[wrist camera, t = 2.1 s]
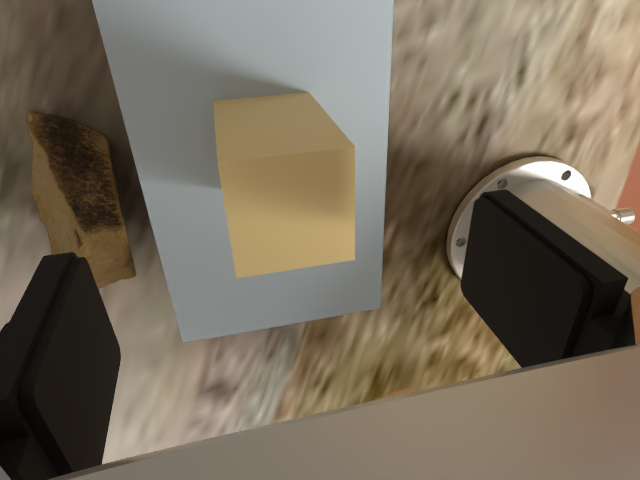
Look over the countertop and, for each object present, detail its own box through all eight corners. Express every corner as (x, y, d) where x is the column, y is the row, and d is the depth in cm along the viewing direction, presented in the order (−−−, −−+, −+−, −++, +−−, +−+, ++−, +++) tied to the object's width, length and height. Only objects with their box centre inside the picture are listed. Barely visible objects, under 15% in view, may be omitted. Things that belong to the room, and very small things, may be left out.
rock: (166, 304, 32) (214, 193, 27) (58, 373, 25) (96, 238, 20) (59, 216, 34) (86, 96, 29) (-71, 256, 27) (-65, 105, 22)
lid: (390, -171, 16) (524, -270, 9) (374, 297, 27) (431, 406, 20) (52, -173, 14) (-81, -298, 8) (183, 330, 25) (176, 461, 19)
